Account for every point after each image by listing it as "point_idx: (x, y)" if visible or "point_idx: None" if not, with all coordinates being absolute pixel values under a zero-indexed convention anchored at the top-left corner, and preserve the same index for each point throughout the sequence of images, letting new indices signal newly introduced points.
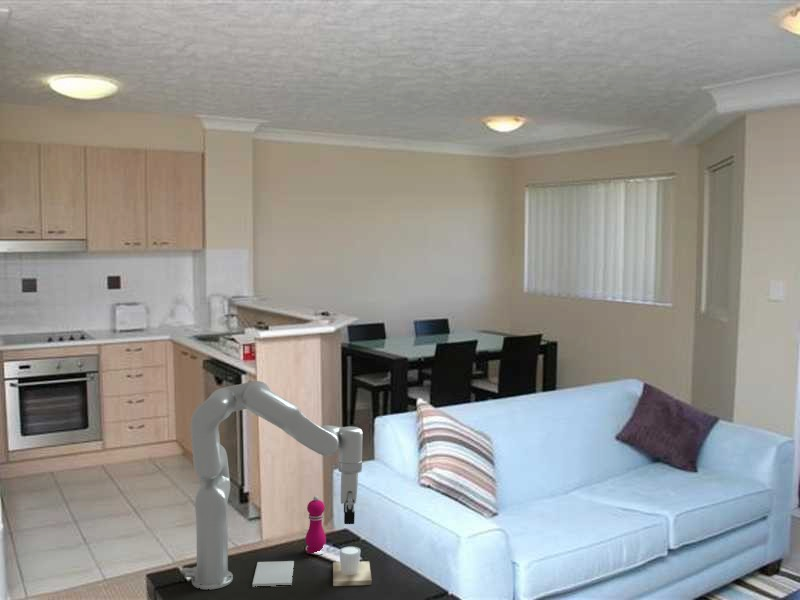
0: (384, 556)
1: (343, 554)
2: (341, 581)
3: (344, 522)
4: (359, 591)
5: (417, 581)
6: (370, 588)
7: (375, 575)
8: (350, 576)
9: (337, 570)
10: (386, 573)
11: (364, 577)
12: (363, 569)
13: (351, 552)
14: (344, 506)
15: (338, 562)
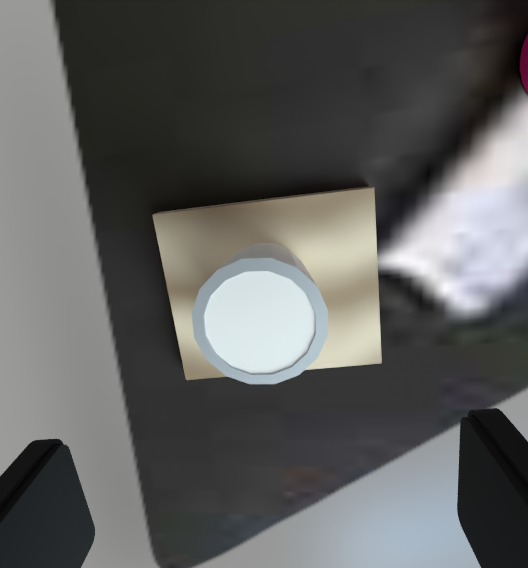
0: None
1: (201, 287)
2: (160, 253)
3: (28, 452)
4: (127, 326)
5: (237, 518)
6: (159, 366)
7: None
8: None
9: (273, 222)
10: (300, 420)
11: None
12: None
13: (232, 334)
14: (518, 495)
15: (371, 217)
